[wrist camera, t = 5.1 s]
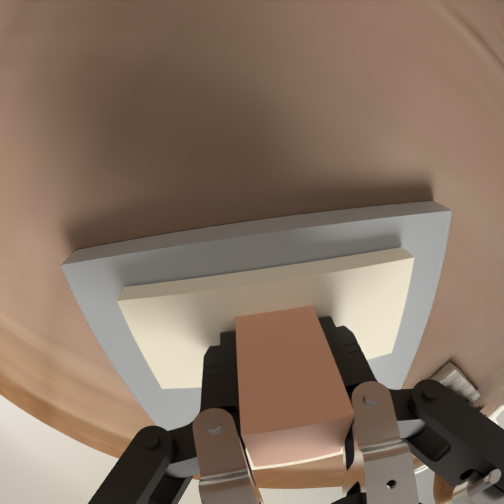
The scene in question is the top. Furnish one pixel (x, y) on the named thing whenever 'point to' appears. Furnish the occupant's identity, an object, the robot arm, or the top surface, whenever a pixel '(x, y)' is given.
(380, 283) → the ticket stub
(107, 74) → the top surface
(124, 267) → the board
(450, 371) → the packaged product
